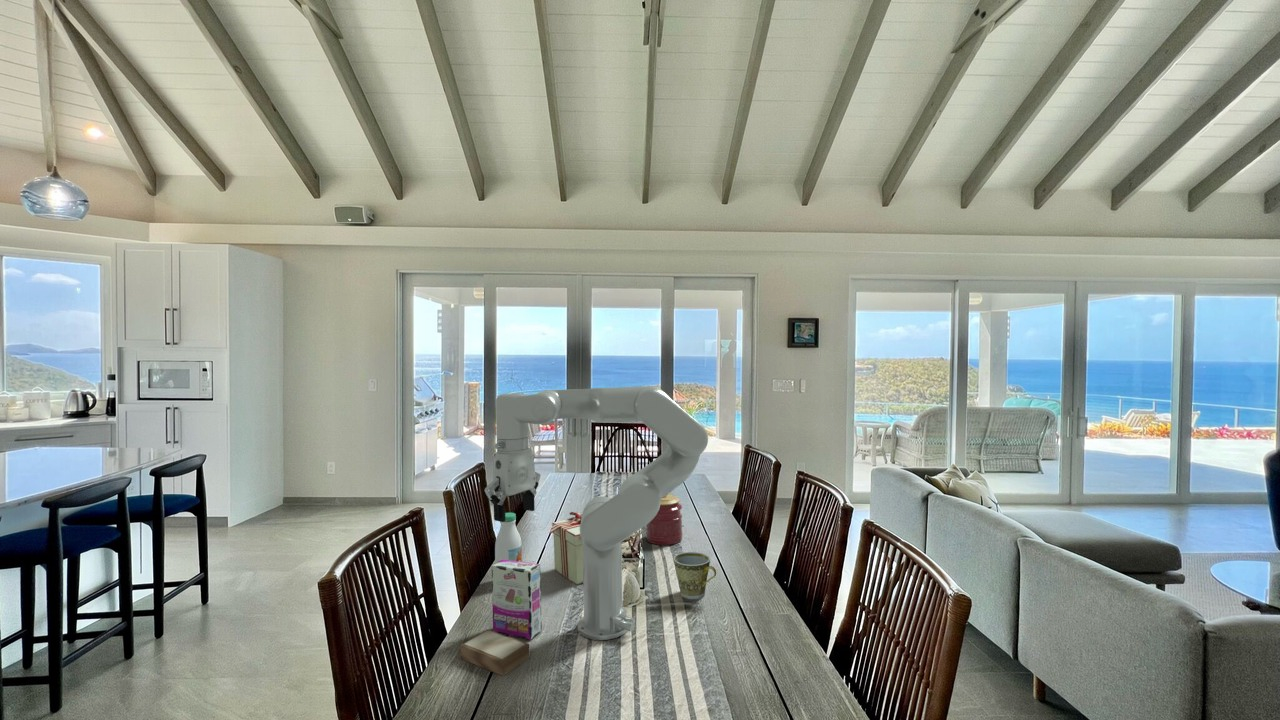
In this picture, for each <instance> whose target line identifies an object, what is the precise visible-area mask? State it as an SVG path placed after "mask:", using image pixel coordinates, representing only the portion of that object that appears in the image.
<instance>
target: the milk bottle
mask: <svg viewBox="0 0 1280 720" xmlns="http://www.w3.org/2000/svg"><path fill="white" fill-rule="evenodd" d="M516 515H517V514H516V513H515V512H505V521H504V522H500V521H499V523H500V527H499V531H498V533H497V535H496V539H495V544H494V564H496V563H497V562H499V561H501V560H503V559H505V560H512V561H520V562H523V548H522V547H523V546H522V544H523V543H522V539H521V537H522V536H521V535H520V532H519V531H518V529H517V526H516V521H517V520H516V519H517V516H516Z"/></svg>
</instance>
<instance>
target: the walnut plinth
mask: <svg viewBox="0 0 1280 720" xmlns="http://www.w3.org/2000/svg"><path fill="white" fill-rule="evenodd" d="M459 650H460V659H461V660H463V661H466V662H468V663H471V664H473V665H476V666H477V667H480V668H483V669H485V670H487V671H490V672H492V673H494V674H498V675H500V676H502V677H504V675H506V674H507V673H509V672H511V671H512V670H513V669H515V668H516V667H518V666H519V665H521V664H522V663H524V662H525V661H527V660H528V659H529V658H530V644H529V643H527V642H524V641H521V640H519V639H516V638H515V637H512V636H509V635H505V634H500V633H497V632H494V631H493V630H490V629H489V628H488V629H486V630H484V631H482V632H480V633H479V634H477V635H475V636H473V637H472V638H470V639H468V640H467V641H465V642H463V643H462V644H460V647H459Z"/></svg>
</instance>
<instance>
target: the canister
mask: <svg viewBox="0 0 1280 720" xmlns="http://www.w3.org/2000/svg"><path fill="white" fill-rule="evenodd" d="M680 500H681V499H680V498H678V497H677V496H675V495H674V494H670V493H669V494H667V495H666V496H665V497H663V498H662V499H661V503H660V508H659V511H658V513H657V515H656V516H655V517H654V518H653V520H652V521H650V522H649V523H648V524H647V525H645V528H646V529H645V530H646V531H645V536H646V541H647V542H648V543H650V544H653V545H657V546H672V545H675V544H678V543H680V542H682V540H683V526H682V525H683V524H682V523H683V519H682V518H683V515H682V513H681V512H682V511H681V510H682V508H683V506H682V504H680Z"/></svg>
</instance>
